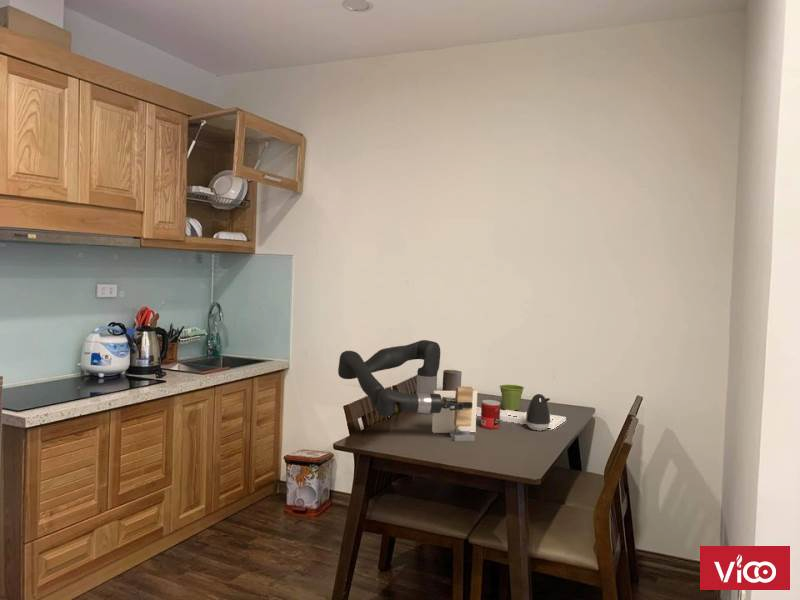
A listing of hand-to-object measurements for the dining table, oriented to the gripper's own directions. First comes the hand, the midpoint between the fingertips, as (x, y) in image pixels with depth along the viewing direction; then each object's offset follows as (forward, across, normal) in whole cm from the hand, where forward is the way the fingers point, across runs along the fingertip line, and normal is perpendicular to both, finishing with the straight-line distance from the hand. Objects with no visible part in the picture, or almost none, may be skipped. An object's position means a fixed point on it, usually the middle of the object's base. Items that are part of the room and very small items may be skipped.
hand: (470, 403), depth 243 cm
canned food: (+14, +17, +14) cm, 26 cm away
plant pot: (+35, +49, +14) cm, 62 cm away
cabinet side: (-4, +3, +14) cm, 15 cm away
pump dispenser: (+34, +13, +14) cm, 39 cm away
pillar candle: (+13, +78, +14) cm, 80 cm away
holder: (+30, +34, +14) cm, 48 cm away
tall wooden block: (-3, 0, +8) cm, 9 cm away
